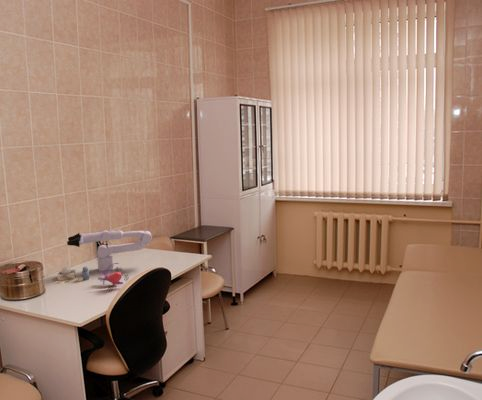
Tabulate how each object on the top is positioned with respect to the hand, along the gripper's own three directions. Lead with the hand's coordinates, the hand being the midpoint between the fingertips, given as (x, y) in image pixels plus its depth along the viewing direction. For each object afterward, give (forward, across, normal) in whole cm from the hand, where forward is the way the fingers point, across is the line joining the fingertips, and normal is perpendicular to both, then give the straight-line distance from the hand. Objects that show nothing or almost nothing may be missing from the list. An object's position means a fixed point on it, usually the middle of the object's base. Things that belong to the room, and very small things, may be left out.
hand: (67, 241), depth 293 cm
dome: (+3, +11, +19) cm, 22 cm away
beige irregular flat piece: (-2, +16, +20) cm, 25 cm away
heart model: (-23, +38, +19) cm, 49 cm away
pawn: (-9, +20, +18) cm, 28 cm away
